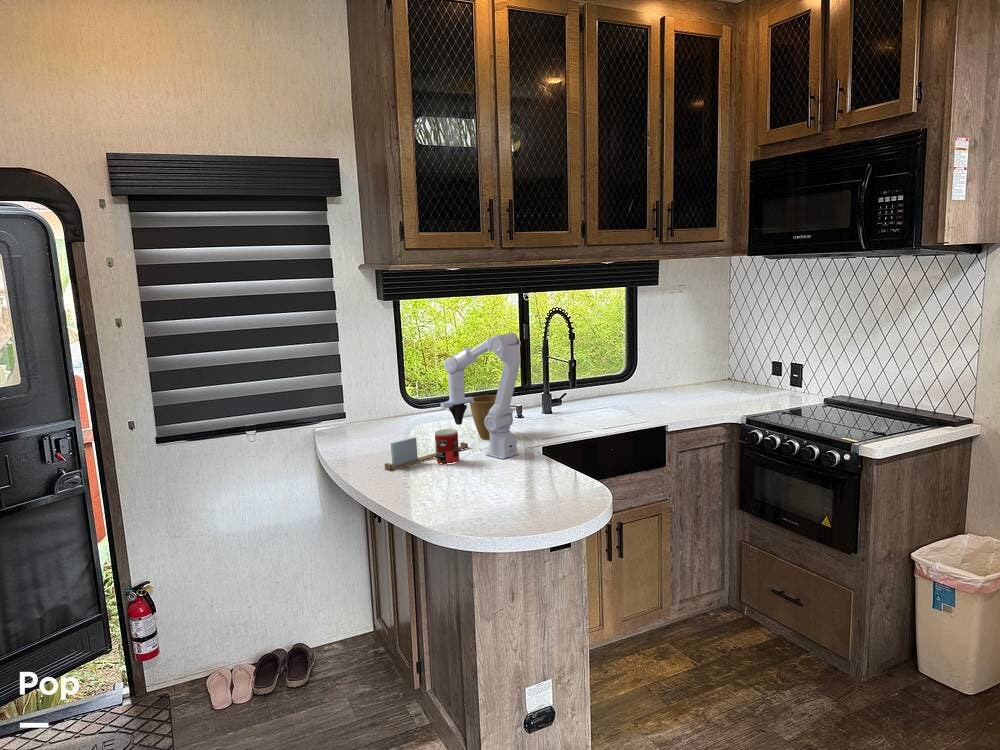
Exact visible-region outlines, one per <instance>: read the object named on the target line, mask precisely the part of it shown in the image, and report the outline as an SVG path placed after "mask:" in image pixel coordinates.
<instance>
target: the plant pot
mask: <svg viewBox="0 0 1000 750" xmlns="http://www.w3.org/2000/svg"><path fill="white" fill-rule="evenodd" d="M496 395H497V394H494V395H493V394H488V395H478V396H477V395H476V396H473V397H474V402H472V403H471V402H470V403H469V407H470V411H471V415H472V418H473V423H474V425H475V428H476V431H477V432H478V436H479V438H480V439H481V438H482V439H481V440H485V439H490V433H489V432H488V430H487V428H486V427H485V424H484V420H485V417H486V416H487V415H488V413H489V410H490V409H491V408H492V406H493V405H494V404H495V400H496Z"/></svg>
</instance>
